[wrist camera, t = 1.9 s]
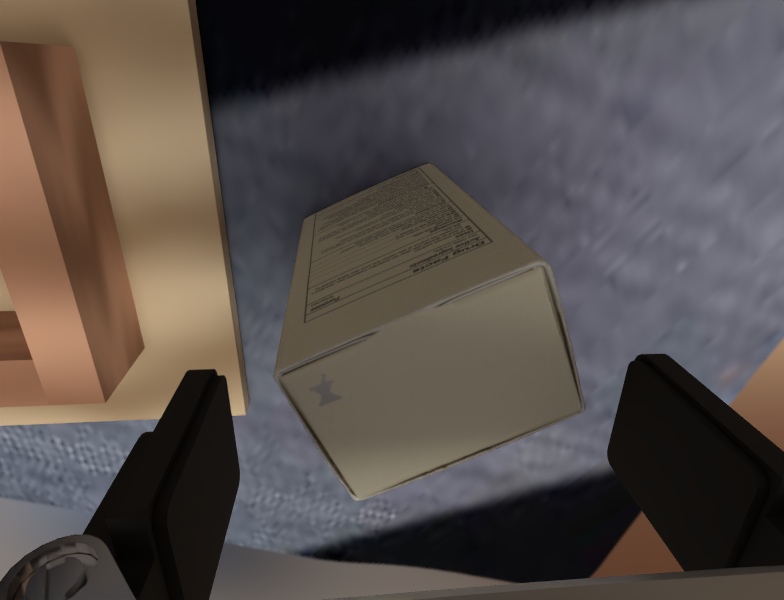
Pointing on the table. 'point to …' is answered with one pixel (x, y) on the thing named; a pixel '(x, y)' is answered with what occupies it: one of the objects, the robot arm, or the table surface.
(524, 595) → the robot arm
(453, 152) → the table surface
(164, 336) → the socket stand
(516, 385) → the skincare box
